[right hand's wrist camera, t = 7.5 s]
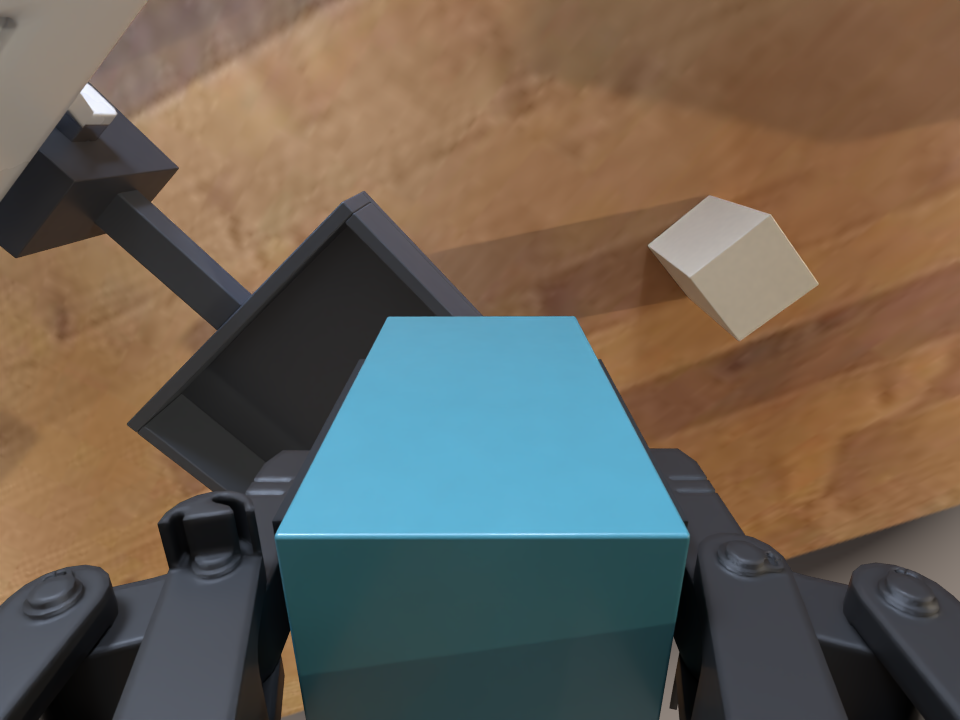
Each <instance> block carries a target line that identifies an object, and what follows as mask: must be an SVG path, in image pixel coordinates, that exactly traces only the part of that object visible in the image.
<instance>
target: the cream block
mask: <svg viewBox="0 0 960 720" xmlns="http://www.w3.org/2000/svg"><path fill="white" fill-rule="evenodd" d="M648 247H649V249H650V250H651V251H652V252H653V254H654V255H655V256H656V257H657V259H658V260H659V261H660V263H661V264H662V265H663V266H664V268H665V269H666V270H667V271H668V273H669V274H670V275H671V276H672V278H673V279H674V280H675V281H676V283H677V284H678V285H679V287H680V288H681V289H682V290H683V292H684V293H685V294H686V295H687V297H688V298H689V299H691V300H692V301H693V302H694V303H695V304H696V305H697V306H699V307H700V308H701V309H702V310H703V311H704V312H706V313H707V314H708V315H709V316H710V317H711V318H712V319H714V320H715V321H716V322H717V323H718V324H719V325H721V326H722V327H723V328H724V329H725V330H726V331H727V332H729V333H730V334H731V335H732V336H733V337H734V338H736V339H737V340H738V341H741V340H742V339H743V338H745V337H746V336H748V335H749V334H750V333H752V332H753V331H755V330H756V329H757V328H759V327H760V326H762V325H763V324H764V323H766V322H767V321H769V320H770V319H771V318H773V317H774V316H775V315H777V314H778V313H780V312H781V311H782V310H784V309H785V308H787V307H788V306H789V305H791V304H792V303H794V302H795V301H796V300H798V299H799V298H801V297H802V296H803V295H805V294H806V293H807V292H809V291H810V290H812V289H813V288H814V287H816V286H817V285H818V284H819V283H818V282H817V280H816V279H815V277H814V276H813V275H812V273H811V272H810V270H809V269H808V267H807V266H806V265H805V263H804V262H803V260H802V259H801V257H800V256H799V254H798V253H797V252H796V250H795V249H794V247H793V246H792V244H791V243H790V241H789V240H788V239H787V237H786V236H785V234H784V233H783V231H782V230H781V228H780V227H779V226H778V224H777V223H776V221H775V220H774V218H773V217H772V216H771V215H770V214H768V213H764V212H761V211H758V210H755V209H752V208H749V207H745V206H742V205H739V204H736V203H733V202H729V201H726V200H723V199H720V198H717V197H714V196H710V195H709V196H707V197H706V198H705V199H704V200H702V201H701V202H700V203H699V204H698V205H696V206H695V207H694V208H693V209H691V210H690V211H689V212H688V213H687V214H685V215H684V216H683V217H682V218H680V219H679V220H678V221H677V222H676V223H674V224H673V225H672V226H671V227H669V228H668V229H667V230H666V231H664V232H663V233H662V234H661V235H660V236H658V237H657V238H656V239H655V240H653V241H652V242H651V243H650V244H649V245H648Z"/></svg>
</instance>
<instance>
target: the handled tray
mask: <svg viewBox="0 0 960 720" xmlns="http://www.w3.org/2000/svg"><path fill="white" fill-rule="evenodd" d="M88 84H89V85H90V86H92V85H91V84H90V83H89V82H88ZM92 87H93V86H92ZM93 88H94V87H93ZM94 89H95V90H96V91H97V92H98V93H99V94H100V95H101V96H102V97H103V98H104V99H105V100H106V101H107V102H108V103H109V104H111V103H110V102H109V101H108V100H107V99H106V98H105V97H104V96H103V95H102V94H101V93H100V92H99V91H98V90H97V89H96V88H94ZM111 105H112V104H111ZM112 106H113V105H112ZM113 107H114V106H113ZM114 108H115V107H114ZM115 110H116V112H117V115H116V117H115V118H114V120H113V121H112V122H111V124H109V125H108V127H107V128H106V129H105V130H104V132H103V133H102V134H101V135H100V137H99V138H98V139H97V140H96V141H89V140H87V141H85V142H71V141H70V140H69V139H68V138H67V137H66V136H65V135H63V134H62V133H61V132H60V131H59V130H58V129H57V128H56V127H55V128H54V129H53V131H52V132H51V133H50V135H49V136H48V137H47V139H46V140H45V142H44V143H43V144H42V146H41V147H40V148H39V150H38V151H37V153H36V154H35V155H34V157H33V158H32V159H31V161H30V162H29V163H28V165H27V166H26V168H25V169H24V170H23V172H22V173H21V174H20V176H19V177H18V179H17V180H16V181H15V183H14V184H13V185H12V187H11V188H10V189H9V191H8V192H7V194H6V195H5V196H4V198H3V199H2V200H1V202H0V246H1V247H2V248H4V249H5V250H6V251H7V252H9V253H10V254H11V255H12V256H13V257H15V258H19V257H22V256H26V255H30V254H33V253H37V252H40V251H44V250H48V249H51V248H55V247H59V246H62V245H66V244H69V243H73V242H77V241H80V240H84V239H88V238H91V237H95V236H98V235H102V234H108V235H109V236H110V237H111V238H112V239H113V240H114V241H116V242H117V243H118V244H119V245H120V246H121V247H122V248H124V249H125V250H126V251H127V252H128V253H129V254H131V255H132V256H133V257H134V258H135V259H136V260H137V261H139V262H140V263H141V264H142V265H143V266H144V267H145V268H147V269H148V270H149V271H150V272H151V273H152V274H153V275H155V276H156V277H157V278H158V279H159V280H160V281H161V282H163V283H164V284H165V285H166V286H167V287H168V288H169V289H171V290H172V291H173V292H174V293H175V294H176V295H177V296H179V297H180V298H181V299H182V300H183V301H184V302H185V303H187V304H188V305H189V306H190V307H191V308H192V309H193V310H195V311H196V312H197V313H198V314H199V315H200V316H201V317H203V318H204V319H205V320H206V321H207V322H208V323H209V324H211V325H212V326H213V327H214V328H215V329H216V330H217V331H216V332H215V333H214V334H213V335H212V337H211V338H210V339H209V340H208V341H207V342H206V343H205V344H204V345H203V346H202V347H201V348H200V349H199V350H198V351H197V352H196V353H195V354H194V355H193V356H192V357H191V358H190V359H189V360H188V361H187V362H186V363H185V364H184V365H183V366H182V367H181V368H180V369H179V370H178V372H177V373H176V374H175V375H174V376H173V377H172V378H171V379H170V380H169V381H168V382H167V383H166V384H165V385H164V386H163V387H162V388H161V389H160V390H159V391H158V392H157V393H156V394H155V395H154V396H153V397H152V398H151V399H150V400H149V401H148V402H147V403H146V404H145V405H144V407H143V408H142V409H141V410H140V411H139V412H138V413H137V414H136V415H135V416H134V417H133V418H132V419H131V420H130V421H129V422H128V423H127V425H128V426H129V427H130V428H131V429H133V430H134V431H135V432H138V434H139V435H140V436H142V437H143V438H144V439H146V440H147V441H148V442H150V443H151V444H152V445H153V446H155V447H156V448H157V449H159V450H160V451H161V452H162V453H164V454H165V455H166V456H168V457H169V458H170V459H172V460H173V461H174V462H175V463H177V464H178V465H179V466H181V467H182V468H183V469H184V470H186V471H187V472H188V473H190V474H191V475H192V476H194V477H195V478H196V479H197V480H199V481H200V482H201V483H203V484H204V485H205V486H206V487H208V488H209V489H210V490H212V491H213V492H214V491H235V492H239V493H243V494H245V495H246V490H247V489H248V487H249V486H250V484H251V483H252V482H254V478H255V477H256V475H257V474H258V472H259V471H260V469H261V468H262V466H263V465H264V463H266V462H267V461H269V460H270V459H271V458H273V457H274V456H275V455H277V454H278V453H280V452H281V451H282V450H311V448H312V446H313V444H314V442H315V441H316V439H317V437H318V435H319V433H320V431H321V429H322V428H323V426H324V424H325V422H326V420H327V418H328V417H329V415H330V413H331V411H332V409H333V407H334V405H335V404H336V402H337V400H338V398H339V396H340V394H341V393H342V391H343V389H344V387H345V385H346V383H347V381H348V380H349V378H350V376H351V374H352V372H353V370H354V368H355V367H356V365H357V363H358V361H359V359H366V358H367V356H368V354H369V352H370V350H371V348H372V346H373V344H374V342H375V340H376V338H377V336H378V335H379V333H380V331H381V329H382V327H383V325H384V323H385V321H386V319H387V317H483V316H482V314H481V313H480V312H479V311H478V310H477V309H476V308H475V307H474V306H473V305H472V304H471V303H470V302H469V301H468V300H467V299H466V298H465V297H464V295H463V294H462V293H461V292H460V291H459V290H458V289H457V288H456V287H455V286H454V285H453V284H452V283H451V282H450V281H449V280H448V279H447V278H446V276H445V275H444V274H443V273H442V272H441V271H440V270H439V269H438V268H437V267H436V266H435V265H434V264H433V263H432V262H431V261H430V260H429V259H428V257H427V256H426V255H425V254H424V253H423V252H422V251H421V250H420V249H419V248H418V247H417V246H416V245H415V244H414V243H413V242H412V241H411V239H410V238H409V237H408V236H407V235H406V234H405V233H404V232H403V231H402V230H401V229H400V228H399V227H398V226H397V225H396V224H395V223H394V222H393V220H392V219H391V218H390V217H389V216H388V215H387V214H386V213H385V212H384V211H383V210H382V209H381V208H380V207H379V206H378V205H377V204H376V203H375V201H374V200H373V199H372V198H371V197H370V196H369V195H368V194H367V193H366V192H365V191H363V192H361V193H359V194H357V195H355V196H353V197H351V198H349V199H347V200H345V201H343V202H342V203H341V204H340V205H339V206H338V207H337V208H336V209H335V210H334V211H333V212H332V213H331V214H330V215H329V216H328V217H327V218H326V219H325V220H324V221H323V222H322V223H321V224H320V225H319V226H318V227H317V228H316V229H315V231H314V232H313V233H312V234H311V235H310V236H309V237H308V238H307V239H306V240H305V241H304V242H303V243H302V244H301V245H300V246H299V247H298V248H297V249H296V250H295V251H294V252H293V253H292V254H291V255H290V256H289V257H288V258H287V259H286V260H285V261H284V262H283V263H282V264H281V266H280V267H279V268H278V269H277V270H276V271H275V272H274V273H273V274H272V275H271V276H270V277H269V278H268V279H267V280H266V281H265V282H264V283H263V284H262V285H261V286H260V287H259V288H258V289H257V290H256V291H255V292H254V293H253V294H252V295H251V294H250V293H249V292H248V291H247V290H246V289H245V288H244V287H243V286H242V285H241V284H239V283H238V282H237V281H236V280H235V279H234V278H233V277H232V276H231V275H230V274H228V273H227V272H226V271H225V270H224V269H223V268H222V267H221V266H220V265H219V264H218V263H216V262H215V261H214V260H213V259H212V258H211V257H210V256H209V255H208V254H207V253H206V252H204V251H203V250H202V249H201V248H200V247H199V246H198V245H197V244H196V243H195V242H194V241H192V240H191V239H190V238H189V237H188V236H187V235H186V234H185V233H184V232H183V231H182V230H180V229H179V228H178V227H177V226H176V225H175V224H174V223H173V222H172V221H171V220H170V219H168V218H167V217H166V216H165V215H164V214H163V213H162V212H161V211H160V210H159V209H157V208H156V207H155V206H154V205H153V204H152V203H151V201H152V200H153V199H154V198H155V196H156V195H157V194H158V193H159V192H160V190H161V189H162V188H163V187H164V186H165V185H166V183H167V182H168V181H169V180H170V179H171V177H172V176H173V175H174V174H175V173H176V171H177V170H178V169H179V167H177V166H176V165H175V164H174V163H173V162H172V161H171V160H170V159H169V158H168V157H167V156H166V155H165V154H164V153H163V152H162V151H161V150H160V149H159V148H158V147H156V146H155V145H154V144H153V143H152V142H151V141H150V140H149V139H148V138H147V137H146V136H145V135H144V134H143V133H142V132H141V131H140V130H139V129H138V128H136V127H135V126H134V125H133V124H132V123H131V122H130V121H129V120H128V119H127V118H126V117H125V116H124V115H123V114H122V113H121V112H120V111H119V110H118V109H117V108H115Z"/></svg>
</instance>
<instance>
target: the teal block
mask: <svg viewBox="0 0 960 720" xmlns="http://www.w3.org/2000/svg"><path fill="white" fill-rule="evenodd" d="M689 541H690V534H689V532H688V530H687V528H686V526H685V524H684V522H683V521H682V519H681V517H680V515H679V513H678V511H677V509H676V507H675V505H674V503H673V502H672V500H671V498H670V496H669V494H668V492H667V490H666V488H665V486H664V484H663V483H662V481H661V479H660V477H659V475H658V473H657V471H656V469H655V467H654V465H653V464H652V462H651V460H650V458H649V456H648V454H647V452H646V450H645V448H644V446H643V445H642V443H641V441H640V439H639V437H638V435H637V433H636V431H635V429H634V427H633V426H632V424H631V422H630V420H629V418H628V416H627V414H626V412H625V410H624V408H623V407H622V405H621V403H620V401H619V399H618V397H617V395H616V393H615V391H614V389H613V388H612V386H611V384H610V382H609V380H608V378H607V376H606V374H605V372H604V370H603V369H602V367H601V365H600V363H599V361H598V359H597V357H596V355H595V353H594V351H593V350H592V348H591V346H590V344H589V342H588V340H587V338H586V336H585V334H584V332H583V331H582V329H581V327H580V325H579V323H578V321H577V319H576V317H574V316H491V317H387V319H386V321H385V323H384V325H383V327H382V329H381V331H380V333H379V335H378V336H377V338H376V340H375V342H374V344H373V346H372V348H371V350H370V352H369V354H368V356H367V358H366V360H365V362H364V364H363V365H362V367H361V369H360V371H359V373H358V375H357V377H356V379H355V381H354V383H353V385H352V387H351V389H350V391H349V393H348V395H347V396H346V398H345V400H344V402H343V404H342V406H341V408H340V410H339V412H338V414H337V416H336V418H335V420H334V422H333V424H332V425H331V427H330V429H329V431H328V433H327V435H326V437H325V439H324V441H323V443H322V445H321V447H320V449H319V451H318V453H317V454H316V456H315V458H314V460H313V462H312V464H311V466H310V468H309V470H308V472H307V474H306V476H305V478H304V480H303V482H302V483H301V485H300V487H299V489H298V491H297V493H296V495H295V497H294V499H293V501H292V503H291V505H290V507H289V509H288V511H287V513H286V514H285V516H284V518H283V520H282V522H281V524H280V526H279V528H278V530H277V532H276V534H275V544H276V550H277V555H278V561H279V567H280V573H281V578H282V584H283V590H284V596H285V601H286V607H287V613H288V619H289V624H290V630H291V636H292V642H293V647H294V653H295V659H296V665H297V670H298V676H299V682H300V688H301V693H302V699H303V705H304V711H305V716H306V720H659V717H660V711H661V705H662V699H663V694H664V688H665V682H666V676H667V670H668V664H669V659H670V653H671V647H672V641H673V635H674V629H675V623H676V618H677V612H678V606H679V600H680V594H681V588H682V582H683V577H684V571H685V565H686V559H687V553H688V547H689Z"/></svg>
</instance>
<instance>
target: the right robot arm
mask: <svg viewBox="0 0 960 720" xmlns="http://www.w3.org/2000/svg"><path fill="white" fill-rule="evenodd" d="M365 360H366V359H359V361H358V363H357V365H356V367H355V368H354V370H353V372H352V374H351V376H350V378H349V380H348V381H347V383H346V385H345V387H344V389H343V391H342V393H341V394H340V396H339V398H338V400H337V402H336V404H335V405H334V407H333V409H332V411H331V413H330V415H329V417H328V418H327V420H326V422H325V424H324V426H323V428H322V429H321V431H320V433H319V435H318V437H317V439H316V441H315V442H314V444H313V446H312V448H311V450H282V451H281V452H280V453H278V454H277V455H275V456H274V457H273V458H271V459H270V460H269V461H267V462H266V463H264V465H263V466H262V468H261V469H260V471H259V472H258V474H257V475H256V477H255V478H254V482H252V483H251V484H250V486H249V487H248V489H247V490H246V495H245V494H243V493H239V492H235V491H214V492H209V493H205V494H201V495H197V496H194V497H192V498H190V499H188V500H185V501H183V502H181V503H179V504H178V505H176V506H175V507H173V508H172V509H170V510H169V511H168V512H166V513H165V515H164V516H163V517H162V519H161V520H160V521H159V522H158V528H159V532H160V535H161V539H162V543H163V547H164V551H165V554H166V558H167V562H168V566H169V571H168V574H165V575H162V576H158V577H155V578H151V579H147V580H142V581H138V582H133V583H129V584H124V585H120V586H115V587H112V584H111V581H110V578H109V574H108V573H106V572H105V571H104V570H103V569H102V568H100V567H96V566H90V565H80V566H72V567H66V568H63V569H60V570H57V571H53V572H51V573H48V574H45V575H43V576H41V577H39V578H37V579H35V580H34V581H32V582H30V583H28V584H26V585H24V586H23V587H22V588H21V589H19V590H18V591H17V592H15V593H14V594H13V595H12V596H10V597H9V598H8V599H7V600H6V601H5V602H4V603H3V604H2V605H1V606H0V720H281V710H282V699H283V687H284V676H285V675H284V669H283V663H282V657H281V653H282V651H283V648H284V645H285V643H286V640H287V638H288V635H289V632H290V624H289V619H288V613H287V607H286V601H285V596H284V590H283V584H282V578H281V573H280V567H279V561H278V555H277V550H276V544H275V534H276V532H277V530H278V528H279V526H280V524H281V522H282V520H283V518H284V516H285V514H286V513H287V511H288V509H289V507H290V505H291V503H292V501H293V499H294V497H295V495H296V493H297V491H298V489H299V487H300V485H301V483H302V482H303V480H304V478H305V476H306V474H307V472H308V470H309V468H310V466H311V464H312V462H313V460H314V458H315V456H316V454H317V453H318V451H319V449H320V447H321V445H322V443H323V441H324V439H325V437H326V435H327V433H328V431H329V429H330V427H331V425H332V424H333V422H334V420H335V418H336V416H337V414H338V412H339V410H340V408H341V406H342V404H343V402H344V400H345V398H346V396H347V395H348V393H349V391H350V389H351V387H352V385H353V383H354V381H355V379H356V377H357V375H358V373H359V371H360V369H361V367H362V365H363V364H364V362H365ZM598 361H599V363H600V365H601V367H602V369H603V370H604V372H605V374H606V376H607V378H608V380H609V382H610V384H611V386H612V388H613V389H614V391H615V393H616V395H617V397H618V399H619V401H620V403H621V405H622V407H623V408H624V410H625V412H626V414H627V416H628V418H629V420H630V422H631V424H632V426H633V427H634V429H635V431H636V433H637V435H638V437H639V439H640V441H641V443H642V445H643V446H644V448H645V450H646V452H647V454H648V456H649V458H650V460H651V462H652V464H653V465H654V467H655V469H656V471H657V473H658V475H659V477H660V479H661V481H662V483H663V484H664V486H665V488H666V490H667V492H668V494H669V496H670V498H671V500H672V502H673V503H674V505H675V507H676V509H677V511H678V513H679V515H680V517H681V519H682V521H683V522H684V524H685V526H686V528H687V530H688V532H689V534H690V541H689V547H688V553H687V559H686V565H685V571H684V577H683V582H682V588H681V594H680V600H679V606H678V612H677V618H676V623H675V629H674V635H673V637H674V639H675V642H676V644H677V647H678V649H679V658H678V663H677V669H676V674H675V680H674V685H673V690H672V696H671V702H670V709H675V710H677V705H678V708H679V719H680V720H960V602H959V601H958V600H957V599H956V598H955V597H954V596H953V595H952V594H950V593H949V592H948V591H946V590H945V589H944V588H943V587H941V586H940V585H939V584H937V583H936V582H934V581H932V580H930V579H928V578H926V577H925V576H923V575H921V574H919V573H917V572H914V571H912V570H909V569H905V568H903V567H899V566H896V565H890V564H882V563H870V564H864V565H860V566H859V567H858V568H857V569H856V570H854V571H853V573H852V576H851V579H850V582H849V585H846V584H842V583H837V582H833V581H828V580H823V579H819V578H815V577H810V576H806V575H803V574H800V573H796V572H793V571H792V570H791V568H790V566H789V565H788V563H787V562H786V560H785V559H784V557H783V556H782V555H781V554H780V553H778V552H777V551H776V550H775V549H773V548H772V547H771V546H770V545H768V544H766V543H764V542H761V541H759V540H757V539H755V538H753V537H749V536H746V535H745V534H744V533H743V531H742V530H741V528H740V527H739V525H738V524H737V522H736V521H735V519H734V518H733V516H732V515H731V513H730V512H729V510H728V509H727V507H726V506H725V504H724V503H723V501H722V500H721V498H720V497H719V495H718V494H717V493H715V489H714V488H713V486H712V485H711V483H710V481H709V480H707V477H706V475H705V474H704V472H703V471H702V469H701V468H700V466H699V465H698V463H697V462H696V461H695V460H693V459H692V458H690V457H689V456H688V455H686V454H685V453H683V452H682V451H681V450H679V449H649V447H648V445H647V443H646V442H645V440H644V438H643V436H642V434H641V432H640V431H639V429H638V427H637V425H636V423H635V421H634V419H633V418H632V416H631V414H630V412H629V410H628V408H627V407H626V405H625V403H624V401H623V399H622V397H621V395H620V394H619V392H618V390H617V388H616V386H615V384H614V382H613V381H612V379H611V377H610V375H609V373H608V371H607V370H606V368H605V366H604V364H603V362H602V360H601V359H598ZM293 648H294V647H293Z"/></svg>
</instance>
